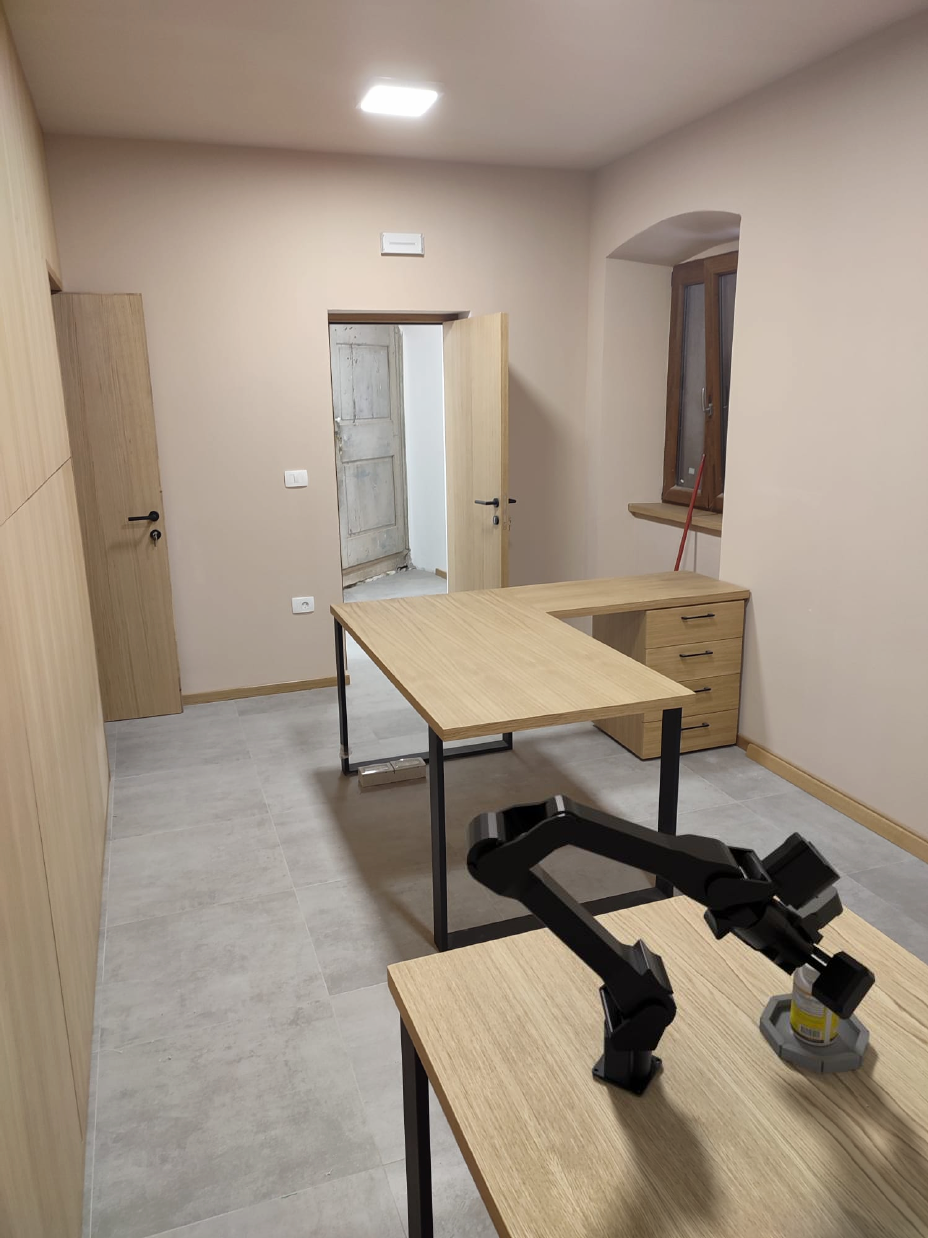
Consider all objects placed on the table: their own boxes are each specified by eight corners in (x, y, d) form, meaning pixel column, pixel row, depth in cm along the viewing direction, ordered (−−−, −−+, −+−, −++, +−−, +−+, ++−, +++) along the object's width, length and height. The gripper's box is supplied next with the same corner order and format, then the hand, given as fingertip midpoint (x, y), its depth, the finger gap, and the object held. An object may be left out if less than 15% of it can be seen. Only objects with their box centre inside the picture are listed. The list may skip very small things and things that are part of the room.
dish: (853, 1087, 100) (855, 1076, 100) (750, 1045, 107) (751, 1035, 107) (874, 1026, 110) (875, 1015, 109) (778, 991, 117) (778, 981, 116)
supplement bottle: (822, 1015, 111) (829, 946, 109) (845, 1046, 106) (853, 974, 103) (781, 1019, 111) (786, 949, 108) (802, 1051, 105) (808, 978, 103)
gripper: (871, 908, 92) (931, 967, 100) (748, 831, 109) (806, 887, 116) (810, 993, 91) (875, 1047, 99) (695, 903, 108) (757, 955, 115)
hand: (826, 977), depth 107 cm, fingers open, 9 cm apart
